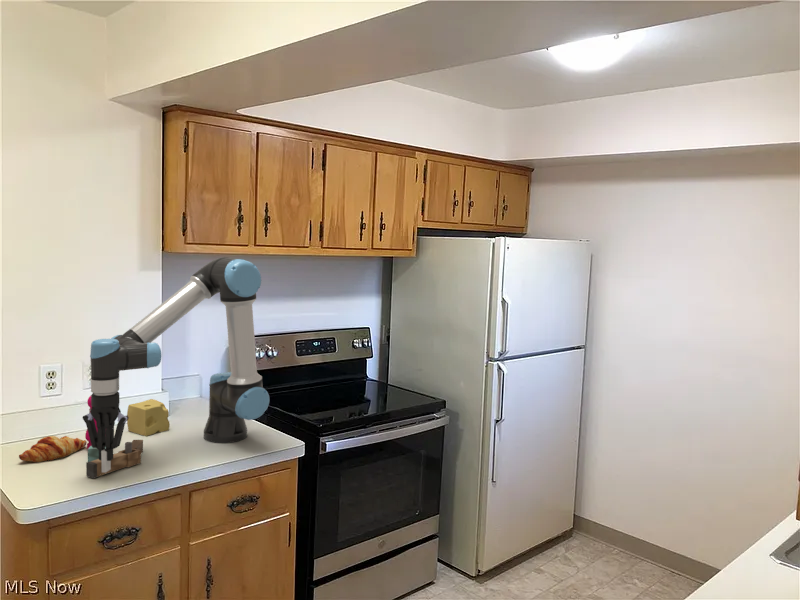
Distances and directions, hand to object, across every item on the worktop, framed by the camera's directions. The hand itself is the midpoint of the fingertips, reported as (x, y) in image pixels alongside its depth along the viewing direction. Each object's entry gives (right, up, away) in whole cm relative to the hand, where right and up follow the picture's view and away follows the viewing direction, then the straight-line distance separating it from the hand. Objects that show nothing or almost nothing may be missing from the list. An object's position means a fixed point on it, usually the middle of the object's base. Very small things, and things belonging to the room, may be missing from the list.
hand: (106, 470), depth 190 cm
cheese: (-5, +3, +43) cm, 44 cm away
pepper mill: (-13, +1, +23) cm, 27 cm away
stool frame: (-4, 0, +15) cm, 15 cm away
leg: (0, -1, +6) cm, 6 cm away
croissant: (-23, 0, +15) cm, 27 cm away
